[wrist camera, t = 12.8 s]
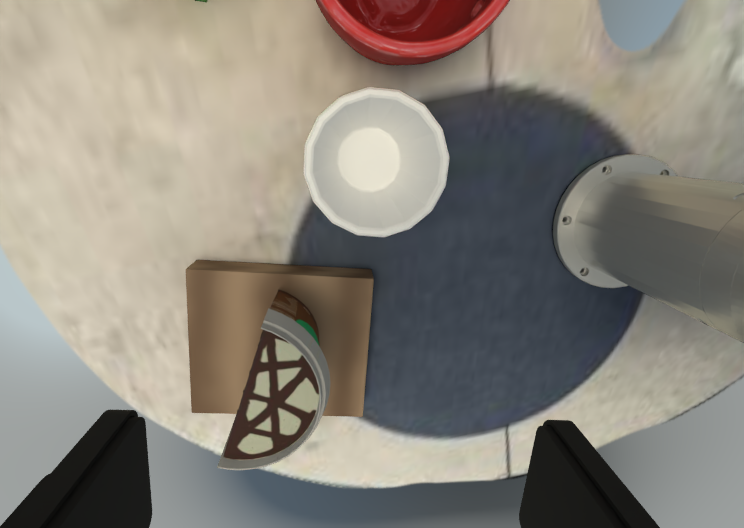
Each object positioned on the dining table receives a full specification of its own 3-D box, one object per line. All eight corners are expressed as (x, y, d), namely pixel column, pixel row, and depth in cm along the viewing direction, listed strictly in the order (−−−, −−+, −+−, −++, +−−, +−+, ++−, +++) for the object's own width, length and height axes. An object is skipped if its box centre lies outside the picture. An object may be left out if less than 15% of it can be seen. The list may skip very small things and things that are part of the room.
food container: (308, 410, 41) (299, 493, 31) (245, 393, 40) (214, 473, 30) (350, 294, 38) (354, 346, 28) (283, 273, 37) (263, 320, 27)
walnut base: (371, 269, 41) (373, 278, 38) (361, 398, 44) (362, 416, 41) (197, 259, 39) (185, 269, 36) (201, 394, 43) (191, 412, 40)
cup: (392, 77, 36) (409, 56, 27) (443, 182, 39) (474, 194, 30) (289, 136, 37) (273, 134, 28) (347, 235, 40) (349, 263, 31)
